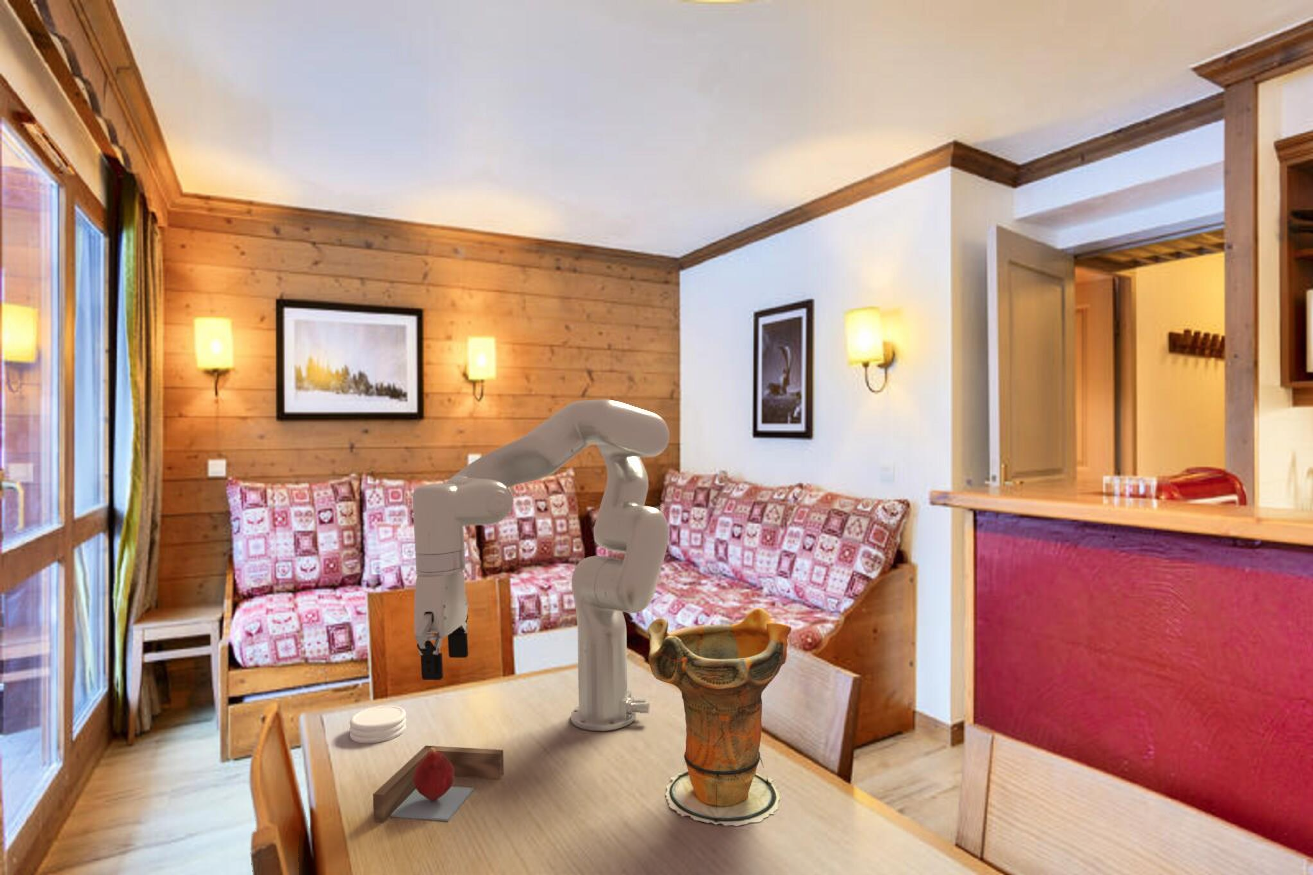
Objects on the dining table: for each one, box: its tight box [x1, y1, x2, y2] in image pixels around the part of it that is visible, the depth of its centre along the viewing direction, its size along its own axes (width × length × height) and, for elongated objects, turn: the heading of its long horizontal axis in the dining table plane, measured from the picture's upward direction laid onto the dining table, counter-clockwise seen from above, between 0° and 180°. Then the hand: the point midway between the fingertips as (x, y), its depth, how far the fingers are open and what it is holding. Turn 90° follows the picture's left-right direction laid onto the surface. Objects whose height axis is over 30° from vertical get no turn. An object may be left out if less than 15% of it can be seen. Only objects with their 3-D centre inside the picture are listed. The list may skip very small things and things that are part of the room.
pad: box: [390, 785, 475, 822], centre depth 107 cm, size 9×9×1 cm
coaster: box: [349, 705, 407, 744], centre depth 134 cm, size 10×10×4 cm
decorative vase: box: [646, 607, 792, 827], centre depth 108 cm, size 21×23×28 cm
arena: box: [372, 745, 505, 823], centre depth 109 cm, size 14×16×4 cm
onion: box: [414, 747, 455, 801], centre depth 107 cm, size 6×6×8 cm
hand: (446, 667), depth 113 cm, fingers open, 9 cm apart
